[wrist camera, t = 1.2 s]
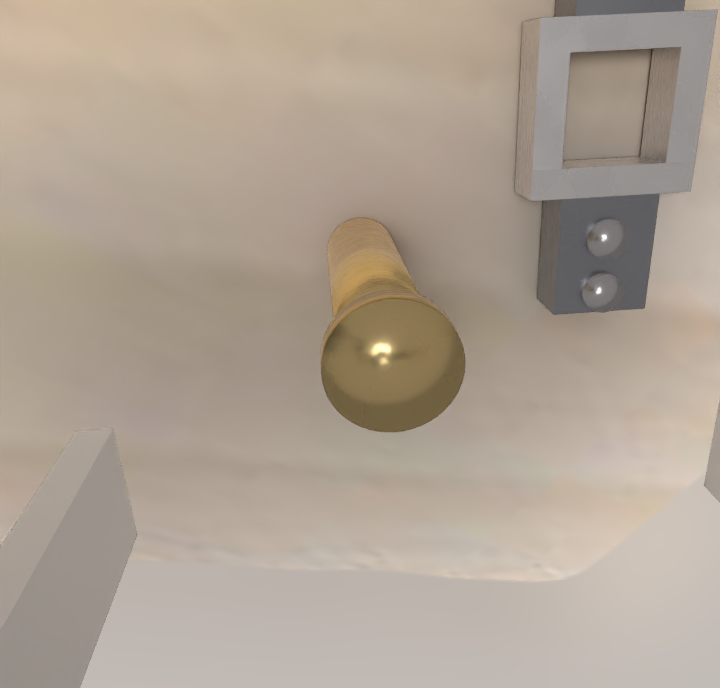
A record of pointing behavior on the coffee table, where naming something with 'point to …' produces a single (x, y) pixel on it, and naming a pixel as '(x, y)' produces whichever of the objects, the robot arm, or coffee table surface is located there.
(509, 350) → the coffee table surface
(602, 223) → the chain joint
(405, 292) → the pin
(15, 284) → the coffee table surface
